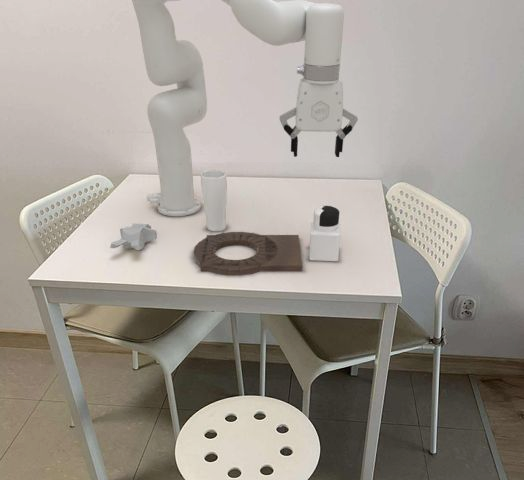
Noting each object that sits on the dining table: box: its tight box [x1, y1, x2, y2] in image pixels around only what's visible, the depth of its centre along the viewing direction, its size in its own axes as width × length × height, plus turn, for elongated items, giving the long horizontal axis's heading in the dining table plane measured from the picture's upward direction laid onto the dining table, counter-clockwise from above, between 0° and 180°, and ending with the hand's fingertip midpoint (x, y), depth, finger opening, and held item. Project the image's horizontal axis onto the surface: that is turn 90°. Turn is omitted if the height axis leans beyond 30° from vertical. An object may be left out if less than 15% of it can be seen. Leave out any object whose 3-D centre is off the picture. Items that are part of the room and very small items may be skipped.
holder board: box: [192, 231, 303, 276], centre depth 134 cm, size 26×21×2 cm
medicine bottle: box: [308, 205, 342, 262], centre depth 130 cm, size 7×7×12 cm
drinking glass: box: [200, 169, 228, 232], centre depth 142 cm, size 7×7×15 cm
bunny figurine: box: [109, 222, 157, 251], centre depth 137 cm, size 10×5×15 cm
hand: (316, 155), depth 124 cm, fingers open, 9 cm apart
